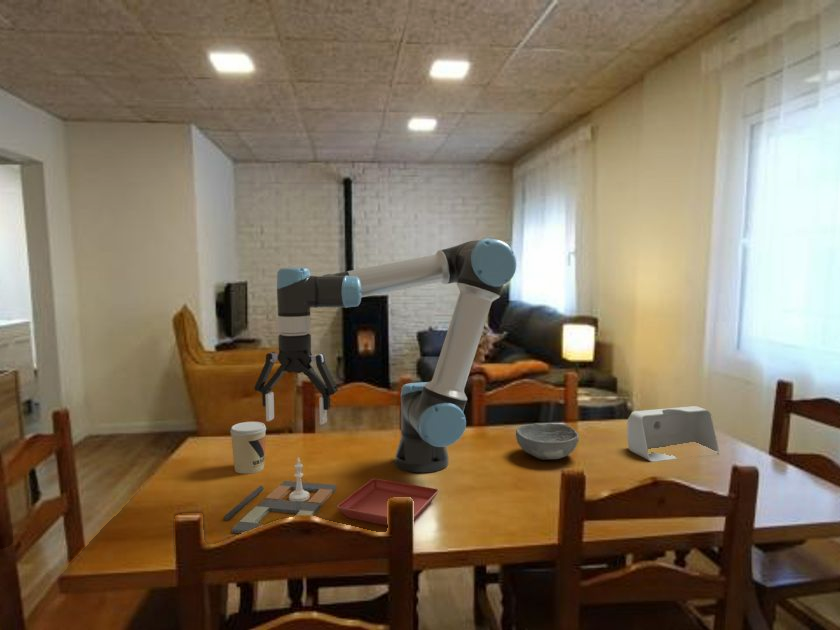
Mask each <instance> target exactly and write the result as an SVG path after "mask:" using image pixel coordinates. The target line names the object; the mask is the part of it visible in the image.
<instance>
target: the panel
mask: <svg viewBox="0 0 840 630" xmlns="http://www.w3.org/2000/svg"><path fill="white" fill-rule="evenodd" d="M301 482H302V488H303V490H304V491H307V492H312V493H314V494H313V495H312V497H311V498H309V499H308V501H291V500H289V499H288V500H287V499H284V498H285V497H286V495H288V494H290V492H292V491H295V490H296V483H297V481H292V480H291V481H290V480H283V482H282V483H280V484H279V485H278V486H276V488H274V490H272V491H271V492H270V493H269V494H268V495H267V496H265V498H264V499H263V500H262V501H261V502H259V503H258V504H257V505H256V506H255V507H253V508H252V509H251V510H250V511H249V512H248V513H247V514H246V515H245V516H244V517H243V518H242V519H240V520H239V521H238V522H237V524H236V525H234V526H233V527H232V528H231V534H240V533H242V532H245V531H249V530H252V529H254V528H257V527H259V526H261V525H264V524H265V523H264V524H263V523H259V522H260V521H261V520H262V519H263V518H264V517H265V516H267V514H268V513H270V512H274V513H287V514H295V516H296V515H314V516H315V515H316V514H317V512H319V510H320V509H321V507H323V505H324V504H325V503H326V501H328V499H329V498H330V497H331V496H332V494H333V493H334V492H335V490H337V484H332V483H331V484H330V483H329V484H328V483H318V482H315V483H314V482H307V481H306V482H305V481H301ZM295 516H294V517H295Z"/></svg>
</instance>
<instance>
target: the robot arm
mask: <svg viewBox="0 0 840 630" xmlns="http://www.w3.org/2000/svg"><path fill="white" fill-rule="evenodd" d="M516 270H517V258H516V255H515V252H514V251H513V249H512V248H511V247H510V245H509V244H508V243H506V242H504V241H503V240H499V239H497V238H496V239H495V238H484V239H479V240H477V239H476V240H469V241H466V242H463V243H461V244H458V245H455V246H452V247H448V248H445V249H439V250H437V251H436V253H435V254H432V255H426V256H421V257H420V256H419V257H416V258H411V259H406V260H400V261H399V260H398V261H394V262H390V263H384V264H380V265H379V264H378V265H373V266H369V267H363V268H358V269H353V270H348V271H344V272H343V271H342V272H337V273H327V274H323V275H322V276H321V275H320V276H317V275H311V273H310V269H309V268H307V267H282V268H280V269H278V271H277V274H276V275H277V277H276V295H277V296H276V297H277V298H276V299H277V332H278V333H280V334H279V335H278V338H277V339H278V343H277V344H278V353H276V352H274V351H272V352H268V353H266V354H265V363H264V365H263V367H262V370H261V372H260V375H259V376H258V379H257V381H256V383H255V385H254V387H253V390H254V391H255V392H260V393H261V394H262V396H261V397H262V407H264V408H265V422H271V421H272V420H274V419H275V399H274V396H275V394H274V391H272V390H273V388H274V387H275V385H276V384H277V383H278V381H280V379H281V378H282V377H283V376H284V374H285V373H287V374H289V373H291V374H292V373H294V374H301V373H303V375H304V376H306V377H307V378H308V380H309V381H310V382H311V383H312V384H313V385H314V387H315V388H316V389H317V390H318V392H319V393H320V396H319V398H318V399H319V402H318V404H319V425H321V426H322V425H324V424H325V423H327V422H328V410H329V409H330V408H331V396H332V395H334V394H336V393H337V392H338V391H339V389H338V386H337V384H336V383H335V380H334V378H333V376H332V375H331V372H330V370H329V368H328V366H327V364H326V359H325V355H324V353H319V354H312V335H311V334H310V332H311V308H315V309H317V308H345V309H347V308H353V307H354V308H355V307H359V305H360V304H361V302H362V298H365V297H369V296H374V295H376V296H377V295H381V294H386V293H390V292H397V291H401V290H406V289H410V288H415V287H421V286H425V285H430V284H435V283H439V282H440V283H441V284H443V285H449V284H456V287H457V288H458V290H459V294H458V298H457V300H456V304H455V307H454V310H453V313H452V316H451V320H450V323H449V325H448V329H447V332H446V335H445V339H444V341H443V344H442V348H441V351H440V354H439V356H438V361H437V363H436V367H435V370H434V373H433V375H432V378H431V380H430V381H427V382H426V381H424V382H423V381H421V382H411V383H406V384H403V385H402V386H401V392H400V403H401V405H400V411H401V413H400V417H401V421H400V424H401V425H400V427H401V428H400V429H401V430H400V431H401V432H400V433H401V437H400V440H399V442H398V446H397V448H396V452H395V456H394V457H395V458H394V461H395V463H394V464H395V466H396V467H397V468H399V469H401V470H403V471H407V472H412V473H431V472H433V473H434V472H438V471H441V470H444V469H445V468H447V467H448V466H449V463H450V462H449V458H450V457H449V452H448V450H447V447H448V446H452V445H453V444H455V443H457V442H458V441H459V440H460V439H461V437H462V436H463V434H464V433H465V431H466V426H467V420H466V419H467V418H466V414H464V410H465V409H466V407H465V406H466V405H467V401H468V397H467V395H466V393H465V388H466V384H467V381H468V377H469V375H470V372H471V369H472V366H473V363H474V359H475V356H476V353H477V350H478V347H479V343H480V340H481V338H482V337H481V336H482V335H483V330H484V328H485V326H486V322H487V318H488V315H489V312H490V309H491V306H492V303H493V302H494V301H496V300H497V299H499V298H500V297H501V294H502V292H503V290H504V289H503V288H504V285H506V284H507V283H509V282H510V281H511V280H512V279H513V278H514V276H515V273H516ZM277 361H278V362H279V364H280V365H279V367H277V369H276V370H275V373H274V374H273V375H272V376H271V377H270V379H269V380H268V378H269V376H270V374H271V371H272V370H273V367H274V365H275V362H277ZM312 362H314V364H315V365H316V368H317V370H318V373H319V374H320V375H321V376H319V375H318V373H317V372H316V371H315V369H314V367H313V366H312V364H311V363H312ZM267 380H268V381H267ZM266 382H267V383H266Z"/></svg>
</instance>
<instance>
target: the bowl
mask: <svg viewBox="0 0 840 630" xmlns="http://www.w3.org/2000/svg"><path fill="white" fill-rule="evenodd" d="M515 438H516V442H517V444H518V446H520V448H521V449H522V451H524V452H526V453H527V454H529V455H530V456H533V457H534V458H536V459H540V460H542V461H545V460H546V461H549V460H560V459H562V458H563V459H564V458H566V457H567V456H569V455H570V454H572V453H573V452H574V451H575V449H576V447H577V444H578V442H579V440H580V437H579V433H578V431H577V430H575V429H574V428H572V426H569V425H567V424H564V423H551V422H550V423H537V422H536V423H530V424H526V425H521V426H519V427H518V428H516V429H515Z"/></svg>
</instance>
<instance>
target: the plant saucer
mask: <svg viewBox="0 0 840 630" xmlns="http://www.w3.org/2000/svg"><path fill="white" fill-rule="evenodd" d="M439 491H440V490H439V489H438V488H434V487H429V486H423V485H417V484H410V483H404V482H398V481H393V480H386V479H381V478H371V479H370V480H369V481H367V482H366V483H364V484H363V485H362V486H360V487H359V488H358V489H357V490H356V491H354V492H352V493H351V494H350V495H349V496H348V497H346V498H345V499H344V500H342V501H341V502H340V503H338V504H337V506H336V508H337V509H338V510H339V511H340V512H341V513H342V514H343V515H345V516H346V517H348V518H350V519H355V520H360V521H365V522H368V523H374V524H378V525H385V526H388V525H387V501H388V499H390V498H393V497H411V498H412V499H413V501H414V520H416V518H418V516H419V515H420V514H421V513H422V512H423V511H424V510H425V509H426V508H427V506H428V505H429V504H431V503H432V502H433V500H434V499H435V497H436V496H437V495H438V493H439Z"/></svg>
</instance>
